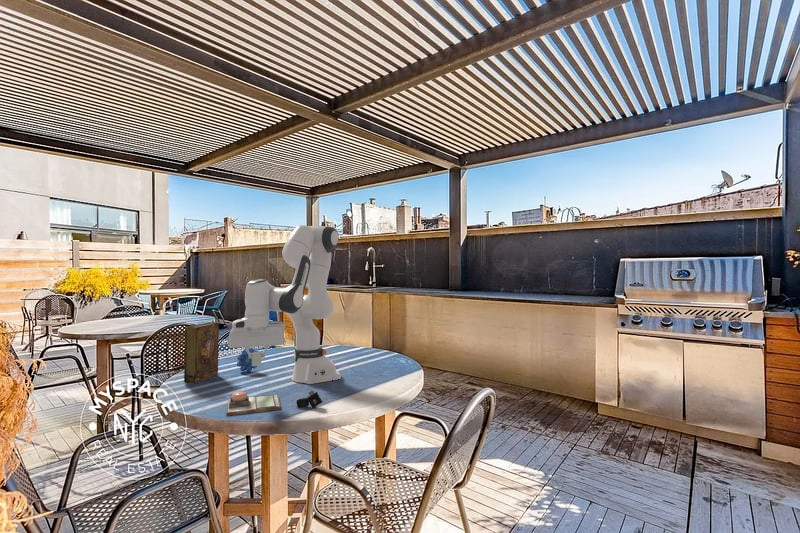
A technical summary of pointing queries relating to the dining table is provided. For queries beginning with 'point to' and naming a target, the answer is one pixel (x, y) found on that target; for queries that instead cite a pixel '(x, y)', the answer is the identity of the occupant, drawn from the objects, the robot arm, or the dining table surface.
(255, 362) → the marker
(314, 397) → the black angular piece
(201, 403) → the dining table surface
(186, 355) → the book
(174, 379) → the dining table surface
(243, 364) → the grapes
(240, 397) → the button
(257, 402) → the picture board
